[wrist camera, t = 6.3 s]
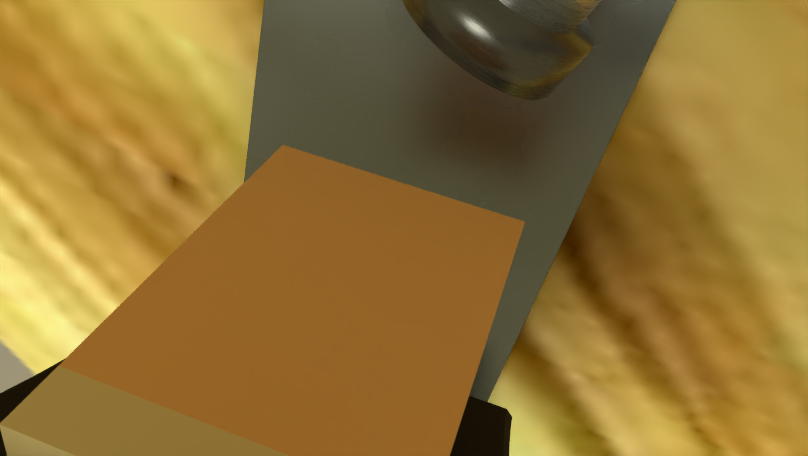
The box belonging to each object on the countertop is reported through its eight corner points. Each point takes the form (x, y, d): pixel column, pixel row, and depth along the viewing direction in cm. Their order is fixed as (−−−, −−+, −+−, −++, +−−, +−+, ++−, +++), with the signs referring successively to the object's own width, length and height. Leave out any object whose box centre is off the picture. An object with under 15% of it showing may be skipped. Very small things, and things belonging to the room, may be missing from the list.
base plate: (872, -438, 10) (890, -456, 9) (449, 474, 24) (441, 499, 23) (355, -568, 11) (330, -594, 10) (233, 382, 25) (219, 403, 24)
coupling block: (524, 222, 11) (406, 591, 6) (456, 429, 14) (339, 790, 9) (282, 144, 11) (-2, 424, 7) (266, 359, 14) (61, 661, 10)
